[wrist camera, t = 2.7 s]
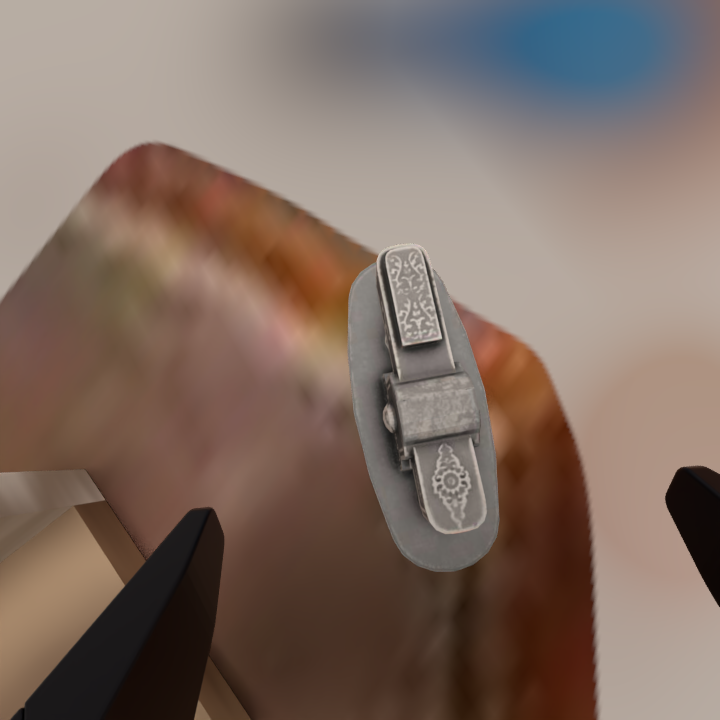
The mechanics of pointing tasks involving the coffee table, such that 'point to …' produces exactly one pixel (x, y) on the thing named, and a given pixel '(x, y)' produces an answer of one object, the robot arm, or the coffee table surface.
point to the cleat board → (66, 582)
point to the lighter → (421, 412)
